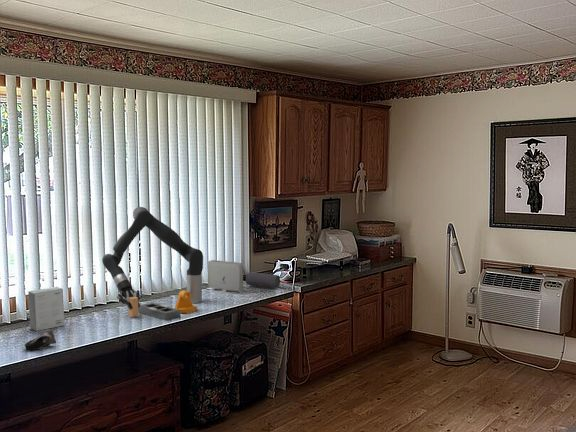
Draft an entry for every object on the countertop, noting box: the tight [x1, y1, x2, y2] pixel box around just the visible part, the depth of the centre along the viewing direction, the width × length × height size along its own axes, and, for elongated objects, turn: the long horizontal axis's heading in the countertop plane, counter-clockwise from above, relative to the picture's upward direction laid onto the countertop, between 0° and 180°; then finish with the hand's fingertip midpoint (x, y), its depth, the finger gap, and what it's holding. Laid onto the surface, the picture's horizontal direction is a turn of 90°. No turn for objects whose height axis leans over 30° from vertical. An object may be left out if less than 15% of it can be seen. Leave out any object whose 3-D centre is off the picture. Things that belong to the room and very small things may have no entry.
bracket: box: [174, 290, 198, 314], centre depth 346 cm, size 11×7×12 cm, turn 134°
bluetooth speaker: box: [245, 272, 281, 290], centre depth 411 cm, size 23×9×10 cm, turn 66°
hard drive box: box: [27, 286, 65, 332], centre depth 313 cm, size 16×8×20 cm, turn 135°
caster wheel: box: [24, 329, 57, 351], centre depth 279 cm, size 7×11×10 cm
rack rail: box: [138, 302, 181, 322], centre depth 339 cm, size 26×10×4 cm, turn 48°
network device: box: [207, 259, 244, 295], centre depth 399 cm, size 26×9×20 cm, turn 62°
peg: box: [127, 297, 140, 318], centre depth 334 cm, size 4×4×10 cm
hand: (135, 307), depth 332 cm, fingers closed on peg, 4 cm apart
